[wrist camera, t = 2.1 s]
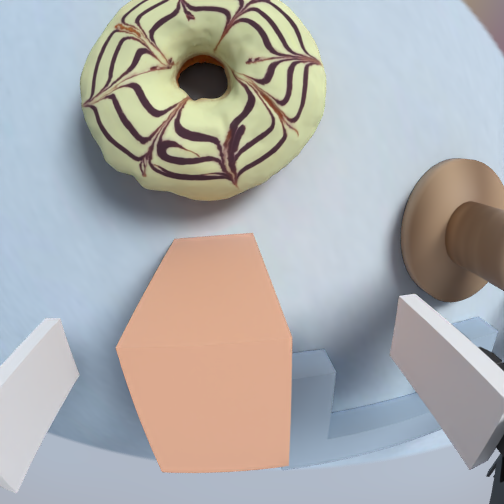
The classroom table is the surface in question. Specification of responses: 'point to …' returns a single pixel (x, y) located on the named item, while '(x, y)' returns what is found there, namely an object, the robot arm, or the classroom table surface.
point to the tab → (211, 359)
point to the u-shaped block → (356, 410)
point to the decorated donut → (203, 110)
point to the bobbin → (455, 230)
